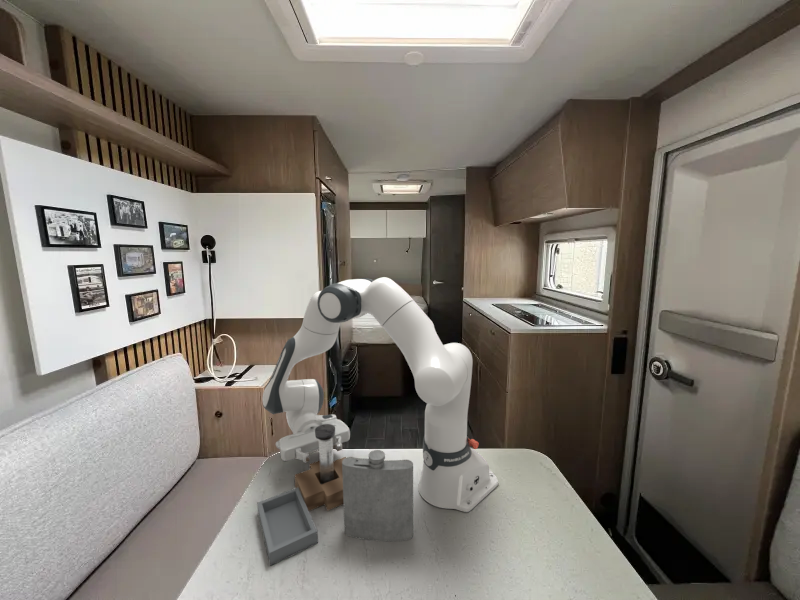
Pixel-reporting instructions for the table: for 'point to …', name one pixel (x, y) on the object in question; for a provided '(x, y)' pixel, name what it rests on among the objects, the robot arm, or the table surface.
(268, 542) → the tray
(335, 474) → the block
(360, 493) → the hip flask
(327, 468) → the steel pin
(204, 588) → the table surface
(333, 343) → the robot arm
